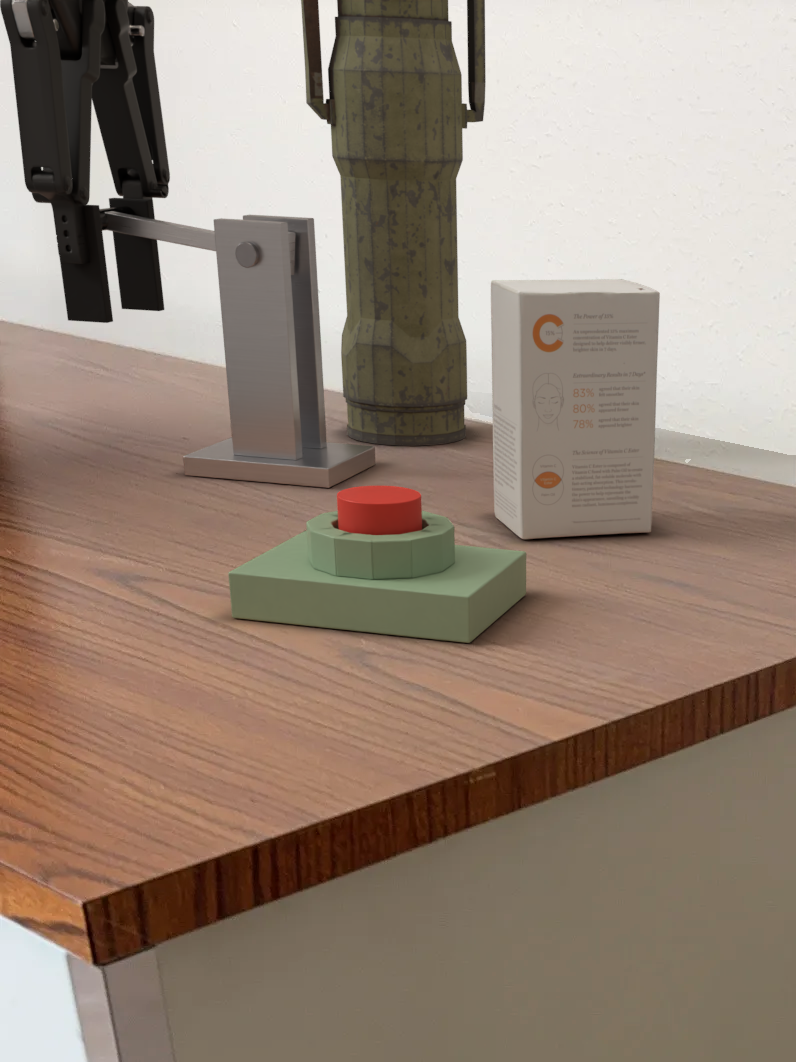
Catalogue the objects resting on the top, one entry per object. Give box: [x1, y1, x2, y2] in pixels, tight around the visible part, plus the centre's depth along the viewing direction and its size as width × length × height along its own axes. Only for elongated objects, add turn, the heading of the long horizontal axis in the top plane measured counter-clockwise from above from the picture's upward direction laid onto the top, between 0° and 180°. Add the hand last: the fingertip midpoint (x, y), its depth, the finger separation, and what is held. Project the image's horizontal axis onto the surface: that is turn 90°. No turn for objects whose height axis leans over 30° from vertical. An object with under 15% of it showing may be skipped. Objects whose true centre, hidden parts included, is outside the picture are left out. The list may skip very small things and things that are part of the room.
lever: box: [99, 206, 295, 275], centre depth 102 cm, size 13×6×2 cm, turn 76°
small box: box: [490, 278, 661, 540], centre depth 94 cm, size 8×6×13 cm
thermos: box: [300, 0, 486, 447], centre depth 111 cm, size 9×12×35 cm
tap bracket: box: [182, 214, 377, 489], centre depth 105 cm, size 10×8×15 cm
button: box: [336, 485, 423, 535], centre depth 79 cm, size 4×4×2 cm
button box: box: [227, 510, 527, 644], centre depth 80 cm, size 12×9×4 cm
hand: (117, 314), depth 106 cm, fingers closed on lever, 6 cm apart
